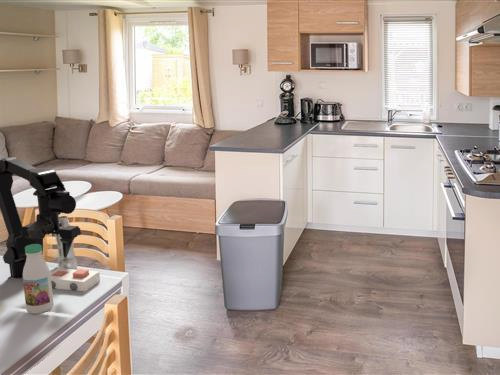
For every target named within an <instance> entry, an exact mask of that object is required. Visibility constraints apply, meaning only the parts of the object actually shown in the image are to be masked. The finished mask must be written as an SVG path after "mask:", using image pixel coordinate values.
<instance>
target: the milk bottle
mask: <svg viewBox="0 0 500 375" xmlns="http://www.w3.org/2000/svg"><path fill="white" fill-rule="evenodd" d="M25 252H26V255H27V259H26V263H25V266H24V269H23V278H22V283H23V291H24V292H23V293H24V299H25V300H24V301H25V310H26V311H27V314H28V313H29V314H31V315H40V314H45V313H48V312H49V311H48V310H51V309H52V308H53V307H54V306H55V305H54V294H53V288H52V284H51V276H50V271H51V270H50V267H49V265H48V264H47V262H46V261H45V259H44V256H43V255H42V246H41V245H40V244H31V245H28V246H26V247H25Z"/></svg>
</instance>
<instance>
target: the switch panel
mask: <svg viewBox="0 0 500 375" xmlns="http://www.w3.org/2000/svg"><path fill="white" fill-rule="evenodd" d="M77 270H78V269H64V268H58V266H57V267H54V268H52V269H51V270H49V271H50V276H51V284H52V289H57V290H58V289H59V290H67V291H68V290H70V291H73V292H74V291H77V292H78V291H79V292H86V291H88V290H89V289H90V288H92V287H93V286H95V285H97V284H98V283H99V282H100V281H101V276H100V271H98V270H97V271H95V270H89V275H88V276H86V277H85V278H73V273H74V272H75V271H77ZM57 271H67V272H68V273H67V274H65V275H63V276H52V274H54V273H56V272H57Z"/></svg>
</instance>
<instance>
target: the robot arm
mask: <svg viewBox="0 0 500 375" xmlns="http://www.w3.org/2000/svg"><path fill="white" fill-rule="evenodd" d="M14 175H15V176H17V177H19V178H22V179H24V180H25V181H28V182H29V185H30V186H31V187H32V188H33V189H34V190H35V191H34V192H33V193H32V195H33V196H36V197H37V205H38V213H37V214H36V218H35V221H34V222H30V223H28V224H26V225H24V226H23V224H22V222H21V218H20V214H19V211H18V209H17V206H16V205H17V204H16V202H15V199H14V195H13V193H12V187H13V183H14V179H13V176H14ZM76 207H77V202H76V199H75V198H74V197H73V196H71V193H70V191H67V190H66V187H65V185H64V183H63V182H62V180H61V178H60V177H59V175H58V173H57V172H56V171H55V170H54V169H49V168H39V167H38V168H37V167H35V166H33V165H31V164H28V163H26V162H24V161H22V160H20V159H18V158H17V157H15V156H9V157H3V158H1V159H0V213H1V215H2V219H3V221H4V224H5V228H6V230H7V234H8V236H7V239H6V243H5V244H6V249H7V250H6V251H5V252H4V255H3V256H2V260H3V262H4V264H7V265H8V266H9V275H10V276H9V277H7V280H9V279H11V278H12V279H13V278H14V279H23V269H24V266H25V263H26V259H27V255H26V252H25V247H26V246H28V245H31V244H40V245H41V246H42V256H43V253H44V238H45V237H46V236H47V235H50V234H52V235H55V234H60V237H61V238H62V239H60V241H61V242H62V246H63V255H64V258H66V257H67V255H68V253H69V250H70V247H71V244H72V242H73V243H74V241H75V240H74V239H75V238H77V237H78V236H80V235H81V234H82V232H81V228H80V227H79V225H70V226H67V227H65V228H60V227H61V226H62V223H59V217H60V216H61V214H65V215H69V214H72V213H73V212H75V209H76Z"/></svg>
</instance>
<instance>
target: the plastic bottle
mask: <svg viewBox="0 0 500 375" xmlns="http://www.w3.org/2000/svg"><path fill="white" fill-rule="evenodd" d="M69 222H70V220H69V216H68V215H59V223H62V226H61V227H60V228H65V227H67V226H71V224H70V223H69ZM54 237H55V240H56V243H57V244H56V245H57V252H58V255H57V257H58V259H57V260H58V261H57V267H58V268H64V269H75V270H77V268H78V261H77V258H76V255H75V254H76V253H75V249H74V241H73V242H72V244H71V247H70V250H69V253H68V255H67V257H66V258H64V255H63V246H62V242H61V241H60V239H62V238H61V237H60V234H54Z"/></svg>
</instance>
